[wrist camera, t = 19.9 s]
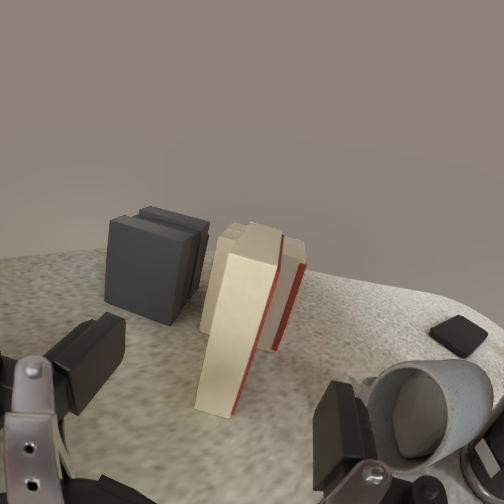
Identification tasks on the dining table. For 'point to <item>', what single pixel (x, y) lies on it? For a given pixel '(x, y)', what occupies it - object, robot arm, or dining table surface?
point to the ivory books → (283, 293)
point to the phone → (459, 335)
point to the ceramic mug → (426, 410)
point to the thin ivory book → (239, 317)
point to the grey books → (154, 262)
